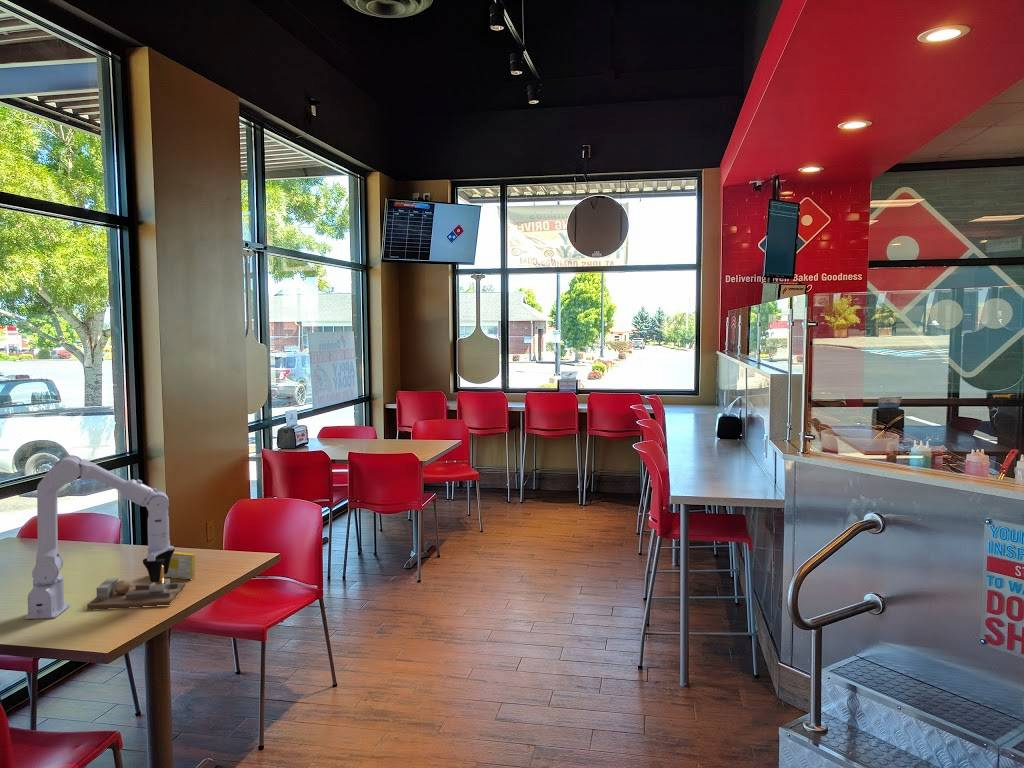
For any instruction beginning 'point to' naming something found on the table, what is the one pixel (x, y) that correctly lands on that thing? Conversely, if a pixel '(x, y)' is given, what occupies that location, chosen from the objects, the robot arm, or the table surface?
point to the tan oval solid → (122, 587)
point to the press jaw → (160, 584)
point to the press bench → (132, 596)
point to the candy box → (181, 566)
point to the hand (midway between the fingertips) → (159, 577)
